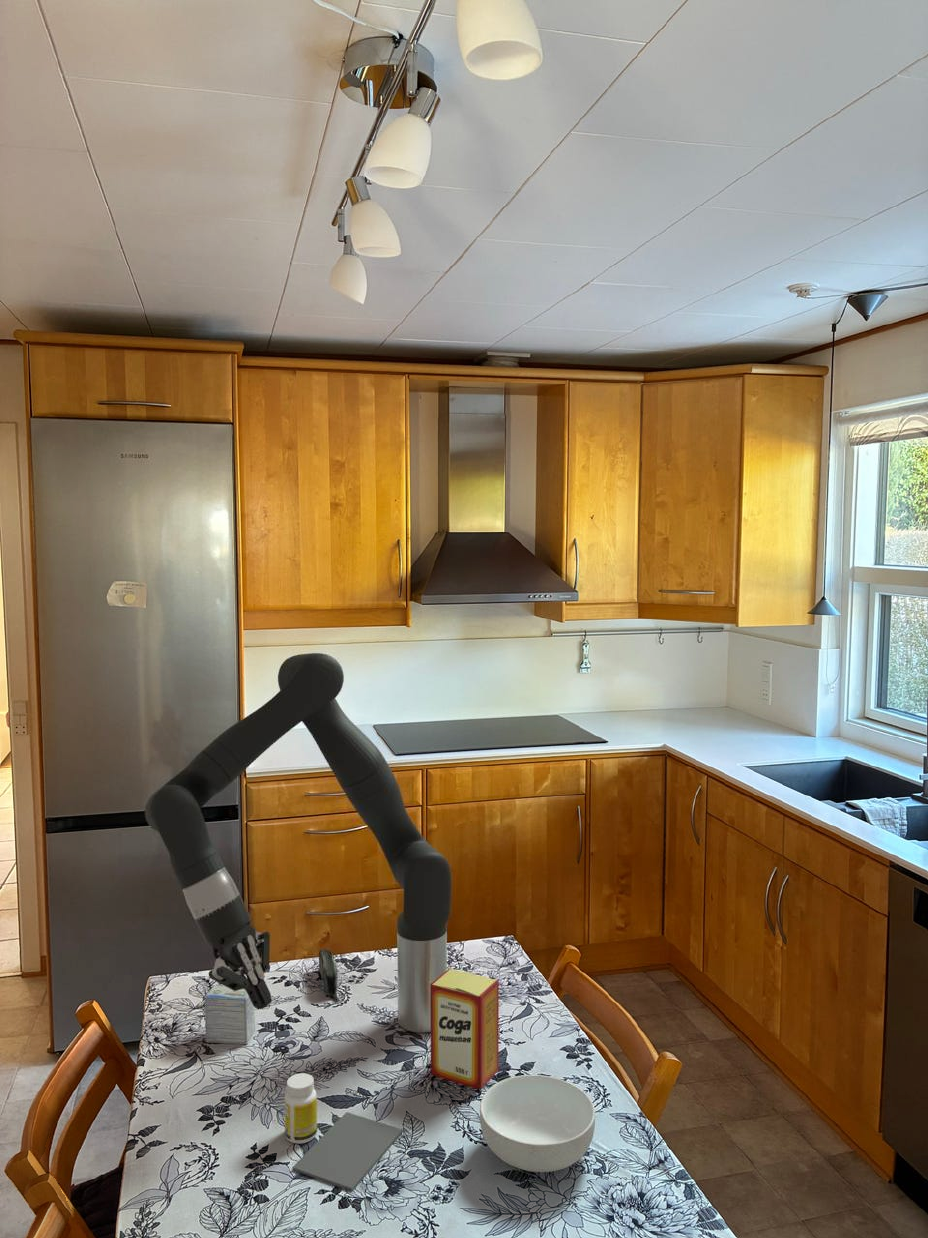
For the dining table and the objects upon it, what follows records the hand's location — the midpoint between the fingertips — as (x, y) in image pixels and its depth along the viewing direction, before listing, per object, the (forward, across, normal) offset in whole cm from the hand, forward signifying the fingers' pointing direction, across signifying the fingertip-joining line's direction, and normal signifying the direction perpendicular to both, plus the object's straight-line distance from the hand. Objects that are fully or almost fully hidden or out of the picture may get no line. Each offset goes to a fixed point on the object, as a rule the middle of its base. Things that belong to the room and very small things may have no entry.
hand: (265, 1005), depth 138 cm
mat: (+23, -4, -7) cm, 24 cm away
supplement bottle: (+19, -4, +1) cm, 19 cm away
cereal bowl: (+35, +6, -29) cm, 46 cm away
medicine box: (+8, +14, +26) cm, 31 cm away
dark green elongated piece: (+13, +39, +22) cm, 46 cm away
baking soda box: (+28, +21, -12) cm, 37 cm away
